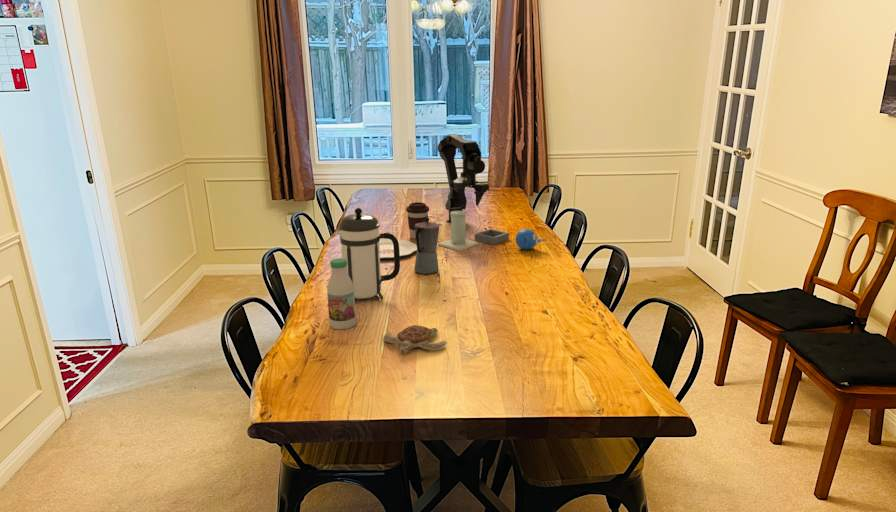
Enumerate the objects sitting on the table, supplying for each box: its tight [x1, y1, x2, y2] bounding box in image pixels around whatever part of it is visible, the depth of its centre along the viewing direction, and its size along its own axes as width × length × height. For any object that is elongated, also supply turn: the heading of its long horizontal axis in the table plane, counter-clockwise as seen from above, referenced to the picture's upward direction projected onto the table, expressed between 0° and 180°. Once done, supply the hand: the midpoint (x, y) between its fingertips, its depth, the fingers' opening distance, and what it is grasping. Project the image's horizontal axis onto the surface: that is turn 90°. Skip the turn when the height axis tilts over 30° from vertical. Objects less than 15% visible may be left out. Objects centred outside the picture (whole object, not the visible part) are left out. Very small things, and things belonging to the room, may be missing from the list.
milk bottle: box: [326, 257, 357, 330], centre depth 167 cm, size 8×8×20 cm
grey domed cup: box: [450, 210, 467, 245], centre depth 241 cm, size 9×7×13 cm
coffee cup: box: [405, 201, 430, 240], centre depth 253 cm, size 10×10×15 cm
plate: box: [379, 238, 418, 260], centre depth 236 cm, size 25×25×2 cm
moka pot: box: [414, 217, 440, 275], centre depth 211 cm, size 10×15×20 cm, turn 161°
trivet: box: [437, 238, 480, 252], centre depth 244 cm, size 12×12×1 cm
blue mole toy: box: [515, 228, 546, 251], centre depth 237 cm, size 12×12×8 cm
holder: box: [474, 228, 510, 246], centre depth 250 cm, size 10×10×3 cm
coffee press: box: [334, 207, 401, 302], centre depth 187 cm, size 17×16×30 cm
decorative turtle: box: [382, 324, 448, 355], centre depth 159 cm, size 18×17×5 cm
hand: (469, 204), depth 263 cm, fingers open, 9 cm apart
